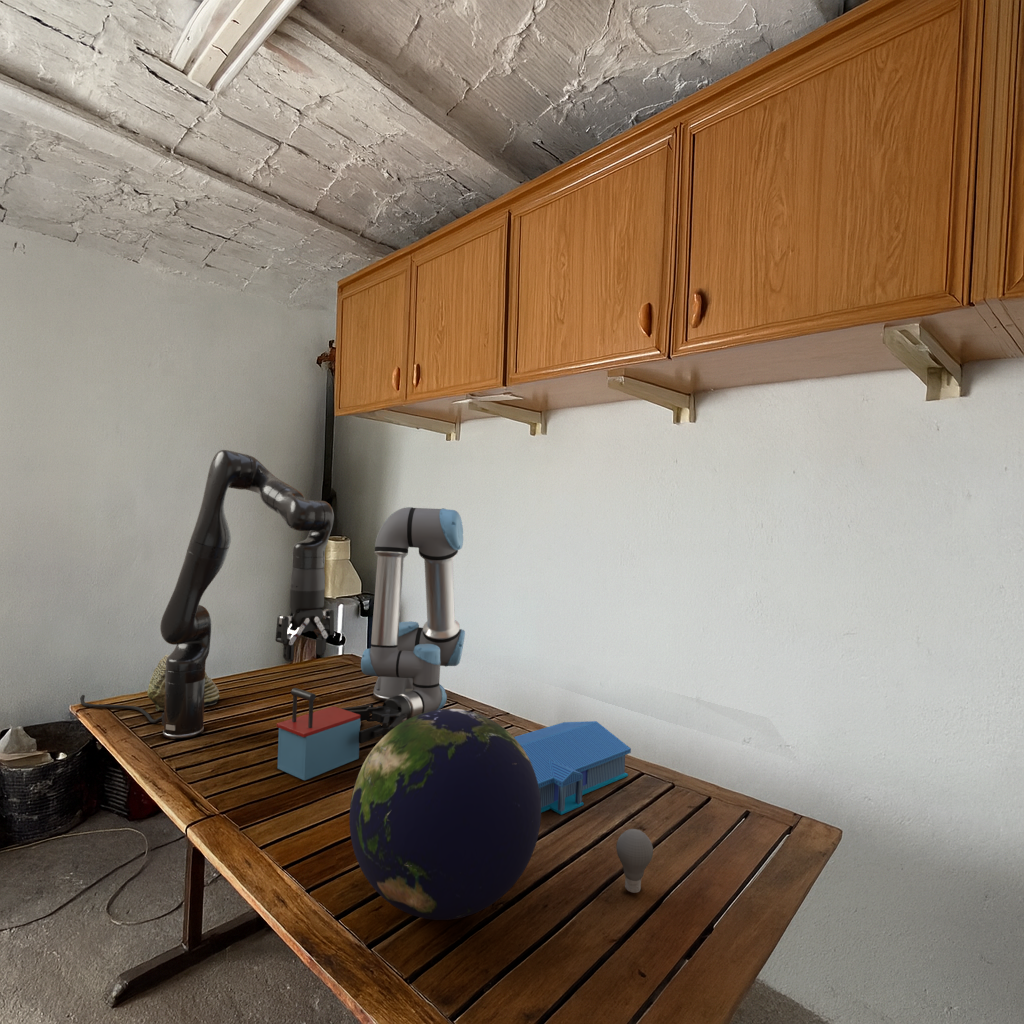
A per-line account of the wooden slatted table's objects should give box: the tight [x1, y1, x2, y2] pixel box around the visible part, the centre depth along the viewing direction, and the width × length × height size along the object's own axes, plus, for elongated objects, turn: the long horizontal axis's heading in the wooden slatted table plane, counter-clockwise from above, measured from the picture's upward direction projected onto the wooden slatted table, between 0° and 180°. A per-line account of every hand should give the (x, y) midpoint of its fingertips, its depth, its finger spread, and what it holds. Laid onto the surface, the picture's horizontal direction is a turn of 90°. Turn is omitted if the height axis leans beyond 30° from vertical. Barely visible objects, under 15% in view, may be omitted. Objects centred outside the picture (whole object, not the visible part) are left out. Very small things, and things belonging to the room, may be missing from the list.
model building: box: [513, 720, 632, 816], centre depth 144 cm, size 39×24×10 cm, turn 132°
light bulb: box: [615, 828, 654, 894], centre depth 106 cm, size 6×6×10 cm
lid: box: [276, 687, 360, 737], centre depth 150 cm, size 16×10×9 cm, turn 146°
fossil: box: [147, 654, 221, 712], centre depth 185 cm, size 9×18×15 cm, turn 132°
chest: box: [277, 718, 361, 781], centre depth 150 cm, size 16×10×10 cm, turn 146°
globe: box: [349, 708, 542, 921], centre depth 100 cm, size 30×30×30 cm
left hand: (304, 657), depth 145 cm, fingers open, 8 cm apart
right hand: (340, 730), depth 154 cm, fingers open, 13 cm apart
